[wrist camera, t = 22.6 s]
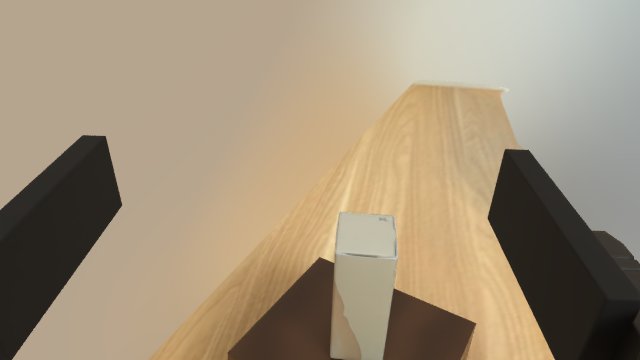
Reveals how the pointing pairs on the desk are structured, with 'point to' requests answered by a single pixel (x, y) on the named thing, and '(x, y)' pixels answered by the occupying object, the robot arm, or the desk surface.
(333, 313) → the box
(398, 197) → the desk surface
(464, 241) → the desk surface
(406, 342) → the block
